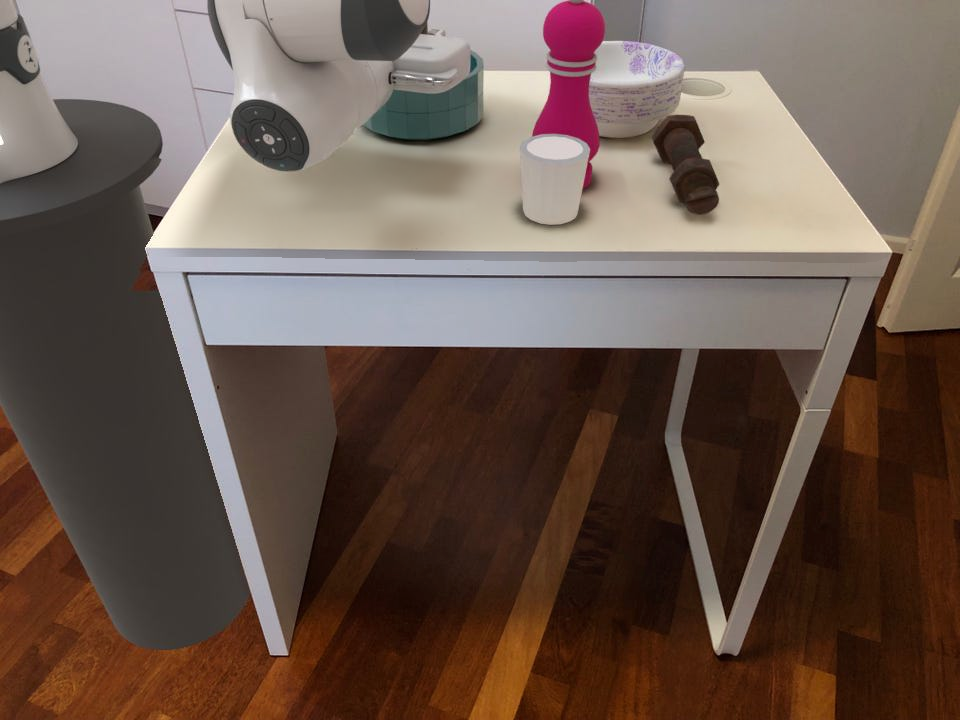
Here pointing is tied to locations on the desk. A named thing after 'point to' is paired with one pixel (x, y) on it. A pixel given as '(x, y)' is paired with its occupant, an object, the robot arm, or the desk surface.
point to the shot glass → (552, 177)
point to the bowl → (433, 109)
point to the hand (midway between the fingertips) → (399, 32)
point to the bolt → (687, 163)
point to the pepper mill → (571, 73)
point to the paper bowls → (633, 87)
